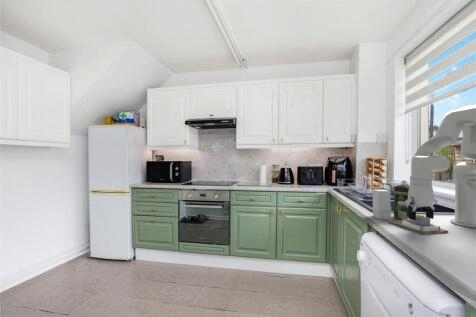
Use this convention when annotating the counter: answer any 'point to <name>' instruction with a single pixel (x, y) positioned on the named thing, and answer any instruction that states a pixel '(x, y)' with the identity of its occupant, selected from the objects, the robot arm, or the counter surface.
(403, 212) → the coffee jar
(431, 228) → the end holder
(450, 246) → the counter surface
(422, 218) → the connector block
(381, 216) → the skincare box
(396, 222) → the board
